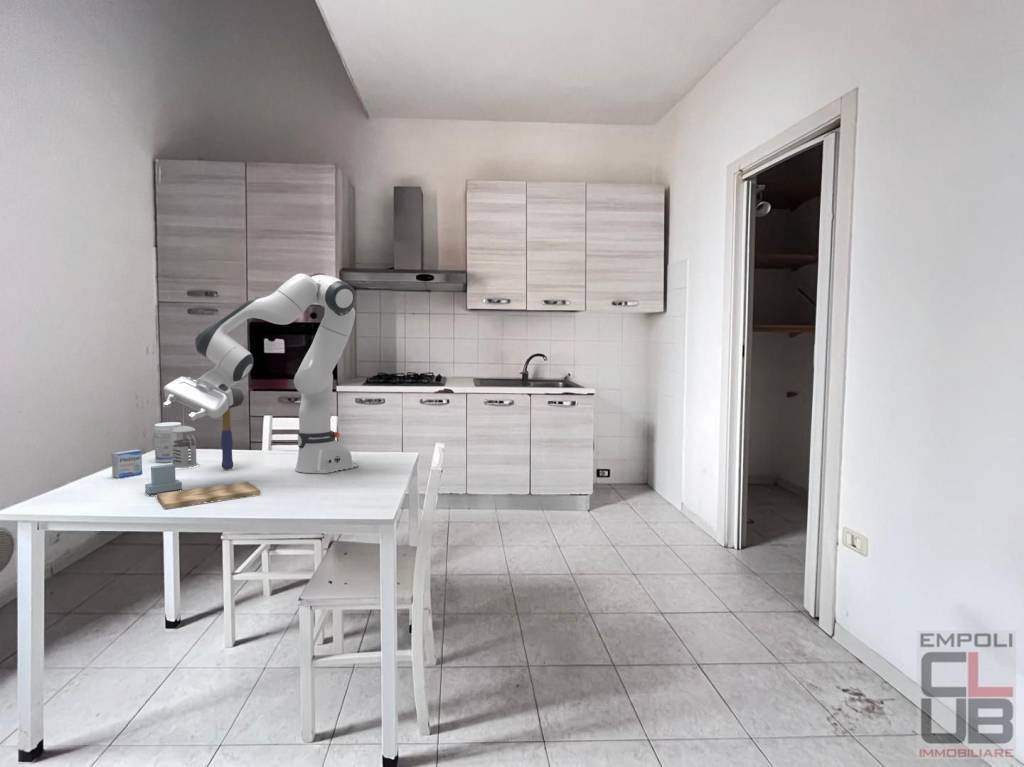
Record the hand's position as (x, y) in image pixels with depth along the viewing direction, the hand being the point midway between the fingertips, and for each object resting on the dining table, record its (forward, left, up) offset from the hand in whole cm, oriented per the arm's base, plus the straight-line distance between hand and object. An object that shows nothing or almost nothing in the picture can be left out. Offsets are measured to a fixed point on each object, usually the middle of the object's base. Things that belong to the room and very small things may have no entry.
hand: (177, 412), depth 185 cm
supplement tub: (-6, -55, -26) cm, 61 cm away
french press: (-9, -40, -26) cm, 49 cm away
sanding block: (+4, -4, -25) cm, 26 cm away
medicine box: (+10, -36, -26) cm, 45 cm away
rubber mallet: (-20, -26, -26) cm, 42 cm away
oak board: (-6, +10, -25) cm, 28 cm away
